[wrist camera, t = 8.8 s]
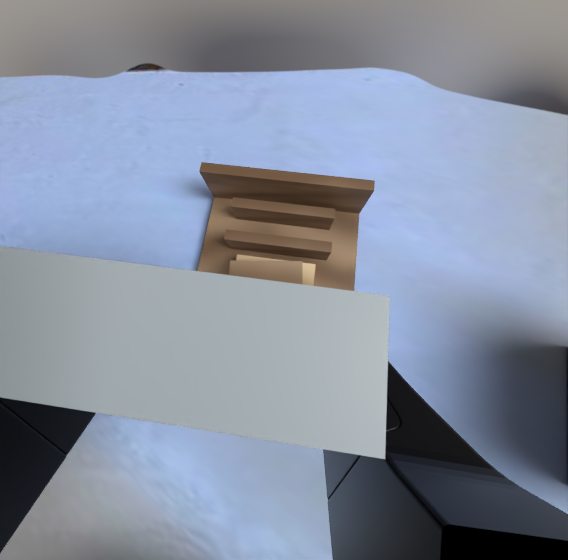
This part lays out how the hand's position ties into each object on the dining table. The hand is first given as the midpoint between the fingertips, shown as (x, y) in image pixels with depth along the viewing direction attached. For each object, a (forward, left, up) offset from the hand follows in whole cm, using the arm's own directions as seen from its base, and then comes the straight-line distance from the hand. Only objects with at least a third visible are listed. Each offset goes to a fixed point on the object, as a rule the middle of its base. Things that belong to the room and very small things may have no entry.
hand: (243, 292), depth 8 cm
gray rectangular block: (-1, -1, -7) cm, 7 cm away
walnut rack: (+3, +5, -13) cm, 15 cm away
